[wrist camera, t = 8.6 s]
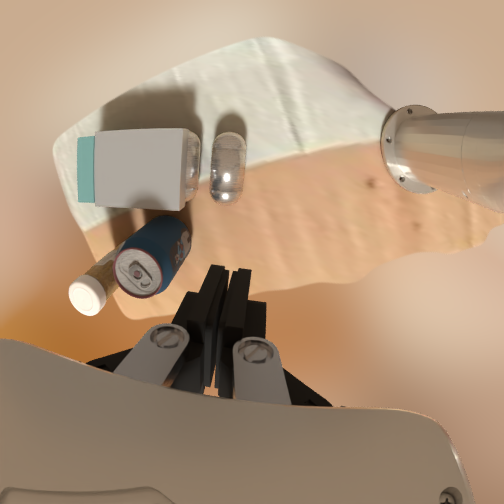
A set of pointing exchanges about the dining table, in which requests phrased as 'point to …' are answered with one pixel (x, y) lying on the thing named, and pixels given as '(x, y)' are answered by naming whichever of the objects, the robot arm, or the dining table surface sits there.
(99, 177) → the slab
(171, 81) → the dining table surface
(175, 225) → the soda can
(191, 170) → the roller mid
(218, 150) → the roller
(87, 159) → the block
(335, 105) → the dining table surface
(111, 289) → the sprinkles bottle
